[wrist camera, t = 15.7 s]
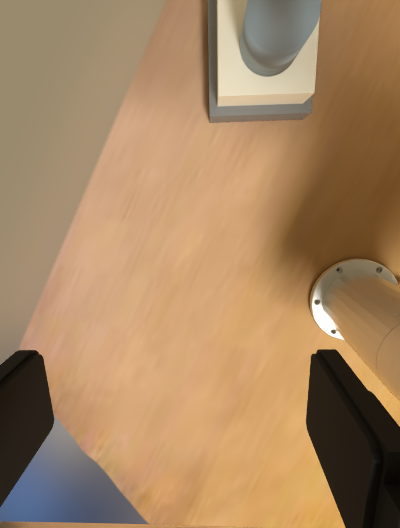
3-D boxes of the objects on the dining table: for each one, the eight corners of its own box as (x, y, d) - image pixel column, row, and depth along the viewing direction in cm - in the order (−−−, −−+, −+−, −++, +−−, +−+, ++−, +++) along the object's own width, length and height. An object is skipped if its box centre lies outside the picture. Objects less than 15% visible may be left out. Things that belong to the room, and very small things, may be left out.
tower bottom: (307, 12, 36) (318, -10, 32) (301, 120, 39) (311, 112, 35) (207, 17, 36) (207, -4, 32) (209, 123, 39) (209, 116, 35)
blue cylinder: (301, 6, 29) (324, -40, 23) (297, 75, 30) (318, 49, 24) (239, 9, 29) (247, -36, 23) (239, 77, 31) (246, 52, 25)
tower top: (308, 2, 32) (322, -24, 28) (302, 103, 34) (314, 92, 31) (216, 6, 32) (217, -19, 29) (217, 106, 35) (218, 96, 31)
